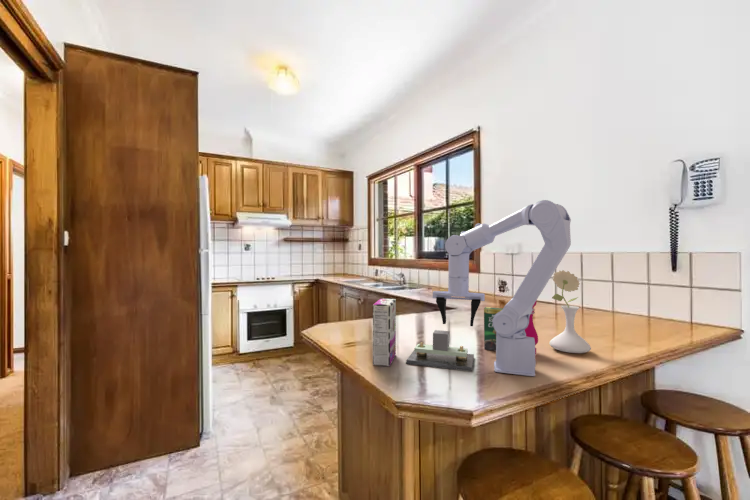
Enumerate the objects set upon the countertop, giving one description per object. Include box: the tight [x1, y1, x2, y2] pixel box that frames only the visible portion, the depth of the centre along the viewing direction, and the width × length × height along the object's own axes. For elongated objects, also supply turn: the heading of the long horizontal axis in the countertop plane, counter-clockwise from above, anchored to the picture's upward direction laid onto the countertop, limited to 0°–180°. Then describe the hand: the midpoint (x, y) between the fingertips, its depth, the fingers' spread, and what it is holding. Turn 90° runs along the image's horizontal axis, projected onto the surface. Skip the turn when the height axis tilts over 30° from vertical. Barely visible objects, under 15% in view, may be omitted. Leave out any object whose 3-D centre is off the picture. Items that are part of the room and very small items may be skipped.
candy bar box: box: [372, 298, 397, 367], centre depth 98 cm, size 11×5×16 cm, turn 168°
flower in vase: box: [549, 269, 592, 354], centre depth 110 cm, size 13×11×25 cm
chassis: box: [405, 341, 475, 372], centre depth 98 cm, size 17×12×4 cm
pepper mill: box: [525, 300, 539, 356], centre depth 107 cm, size 7×7×20 cm
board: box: [413, 329, 469, 357], centre depth 98 cm, size 14×5×6 cm, turn 72°
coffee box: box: [483, 306, 504, 352], centre depth 109 cm, size 8×3×13 cm, turn 61°
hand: (457, 324), depth 101 cm, fingers open, 7 cm apart
